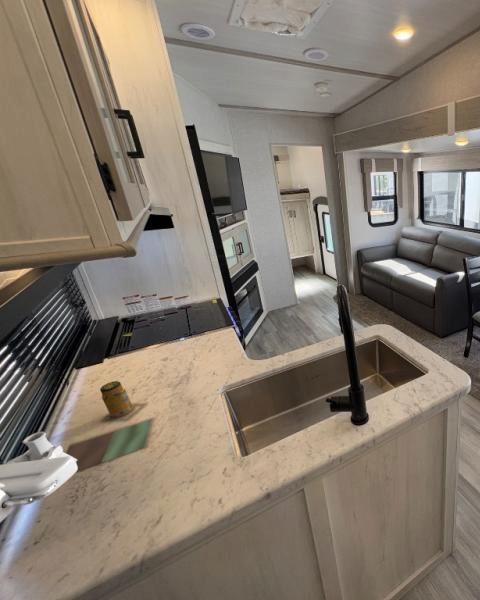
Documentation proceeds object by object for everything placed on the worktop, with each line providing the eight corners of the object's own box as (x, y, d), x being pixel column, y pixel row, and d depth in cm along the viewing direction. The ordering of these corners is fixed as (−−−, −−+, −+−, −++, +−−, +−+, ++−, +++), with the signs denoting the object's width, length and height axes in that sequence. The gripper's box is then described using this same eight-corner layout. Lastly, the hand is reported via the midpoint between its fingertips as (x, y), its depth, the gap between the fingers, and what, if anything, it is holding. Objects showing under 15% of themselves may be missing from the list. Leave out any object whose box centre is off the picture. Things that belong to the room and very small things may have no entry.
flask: (52, 485, 66) (30, 450, 63) (20, 486, 66) (-3, 451, 63) (85, 457, 73) (67, 424, 69) (56, 457, 73) (36, 425, 70)
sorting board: (54, 481, 84) (53, 479, 83) (72, 446, 95) (71, 445, 95) (145, 448, 93) (144, 447, 92) (152, 420, 104) (151, 419, 104)
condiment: (122, 407, 112) (109, 379, 107) (144, 406, 111) (132, 378, 107) (104, 421, 105) (89, 392, 100) (128, 420, 105) (114, 391, 100)
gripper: (30, 489, 56) (92, 432, 68) (-100, 507, 53) (-11, 444, 66) (46, 513, 58) (103, 453, 71) (-78, 531, 56) (3, 466, 69)
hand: (47, 449), depth 68 cm, fingers closed on flask, 3 cm apart
